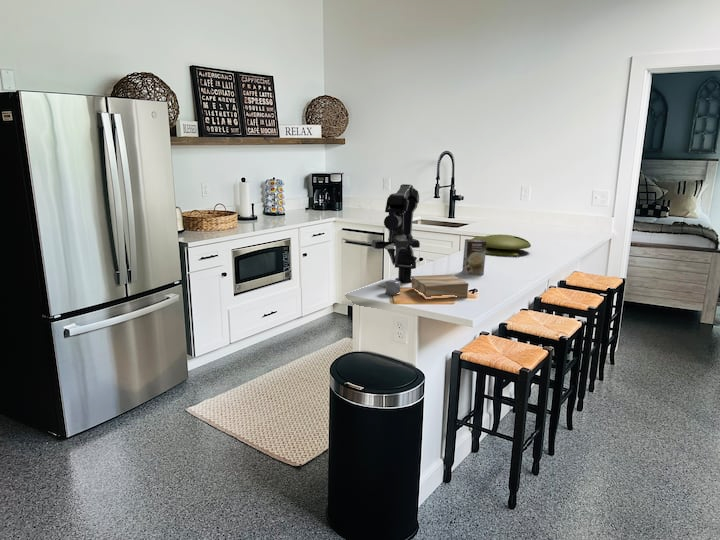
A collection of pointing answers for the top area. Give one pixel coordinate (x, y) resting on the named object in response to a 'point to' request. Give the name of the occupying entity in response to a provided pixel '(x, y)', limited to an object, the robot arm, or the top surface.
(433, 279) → the lid
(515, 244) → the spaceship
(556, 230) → the top surface
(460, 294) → the box
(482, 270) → the coffee box
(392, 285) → the grey domed cylinder
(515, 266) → the top surface
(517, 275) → the top surface
